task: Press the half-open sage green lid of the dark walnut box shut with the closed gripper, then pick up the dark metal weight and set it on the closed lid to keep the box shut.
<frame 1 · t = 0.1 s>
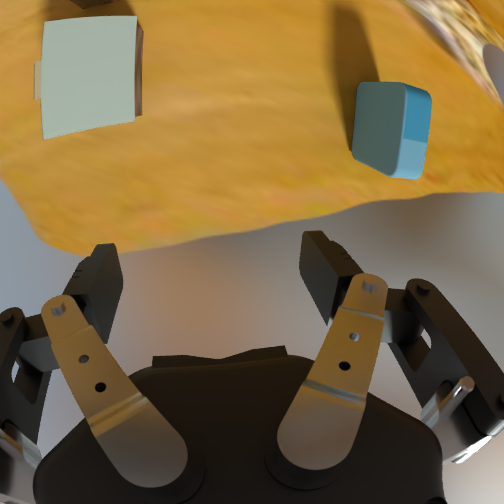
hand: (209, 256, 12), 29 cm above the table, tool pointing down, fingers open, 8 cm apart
data package: (365, 121, 39), on the table
box lid: (84, 72, 22), point 9 cm above the table, hinge at 35.0°
walnut box: (106, 77, 30), on the table
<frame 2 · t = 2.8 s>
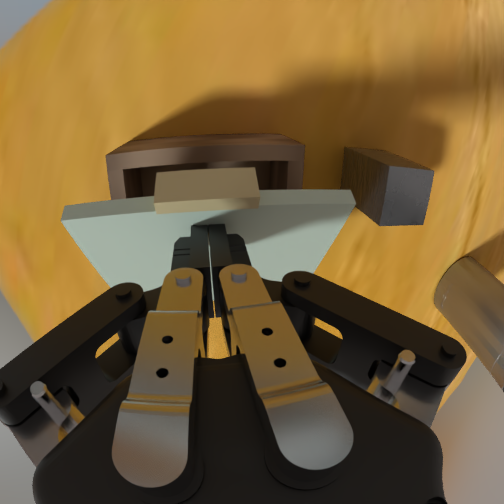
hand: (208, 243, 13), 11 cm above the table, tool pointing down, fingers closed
metal weight: (363, 171, 25), on the table
box lid: (209, 253, 16), point 9 cm above the table, hinge at 31.8°, touching gripper
walnut box: (206, 195, 24), on the table
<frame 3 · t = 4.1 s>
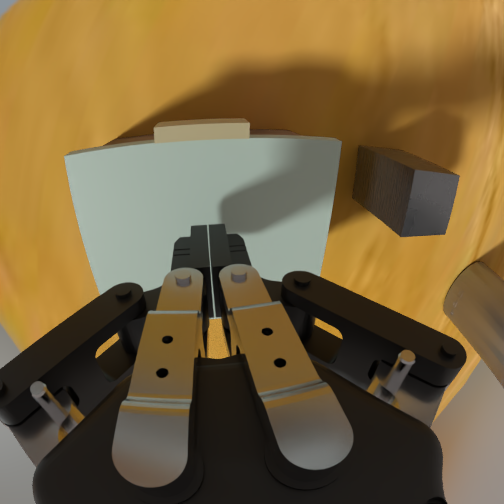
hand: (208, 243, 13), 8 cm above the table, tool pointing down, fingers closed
metal weight: (377, 173, 22), on the table
box lid: (205, 232, 15), point 7 cm above the table, hinge at 3.6°
walnut box: (203, 199, 21), on the table
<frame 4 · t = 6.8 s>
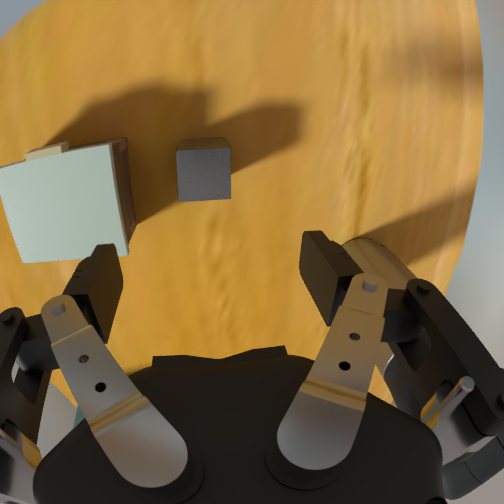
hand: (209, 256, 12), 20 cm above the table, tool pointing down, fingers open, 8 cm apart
metal weight: (203, 158, 29), on the table
box lid: (57, 205, 22), point 7 cm above the table, hinge at 3.6°
walnut box: (82, 189, 28), on the table
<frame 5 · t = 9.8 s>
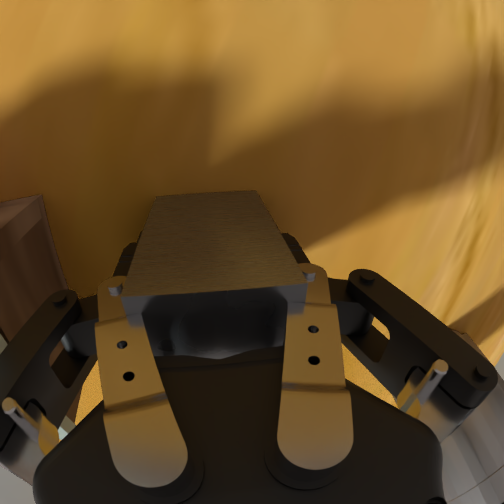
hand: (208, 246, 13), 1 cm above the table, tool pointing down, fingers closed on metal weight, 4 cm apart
metal weight: (208, 238, 14), on the table, touching gripper
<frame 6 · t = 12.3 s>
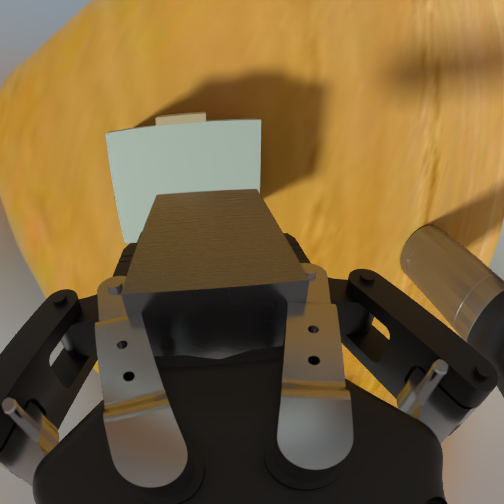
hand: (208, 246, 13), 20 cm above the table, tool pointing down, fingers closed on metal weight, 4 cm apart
metal weight: (208, 236, 14), point 19 cm above the table, touching gripper
box lid: (185, 178, 24), point 7 cm above the table, hinge at 3.6°
when the fingers open (9 cm above the table, at t = 14.9 s): metal weight drops 1 cm, resting on box lid.
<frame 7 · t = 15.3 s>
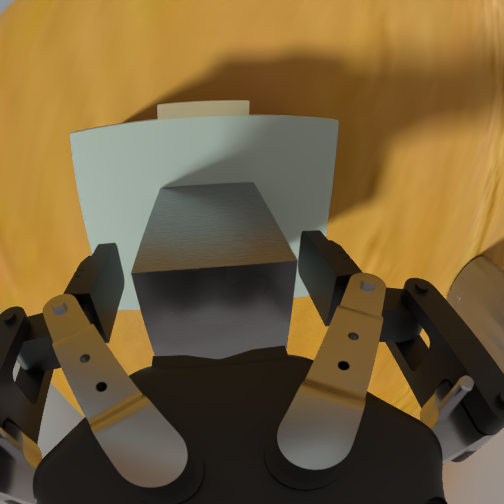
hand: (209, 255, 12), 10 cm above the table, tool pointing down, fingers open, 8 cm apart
metal weight: (209, 226, 15), point 7 cm above the table, touching box lid
box lid: (206, 212, 15), point 6 cm above the table, hinge at 1.0°, touching metal weight
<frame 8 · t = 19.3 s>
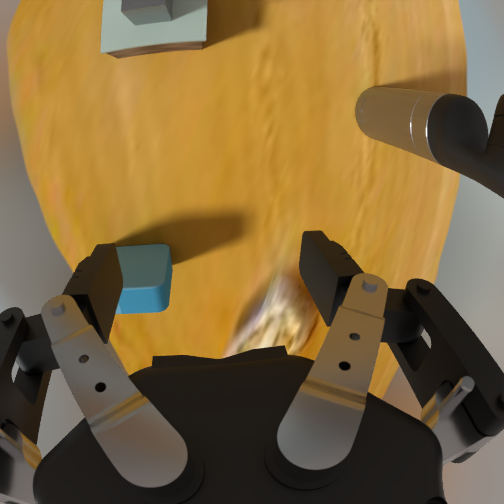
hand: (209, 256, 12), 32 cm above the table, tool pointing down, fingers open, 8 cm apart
data package: (137, 256, 47), on the table
metal weight: (154, 7, 23), point 7 cm above the table, touching box lid
box lid: (154, 6, 24), point 6 cm above the table, hinge at 0.8°, touching metal weight
walnut box: (160, 21, 29), on the table
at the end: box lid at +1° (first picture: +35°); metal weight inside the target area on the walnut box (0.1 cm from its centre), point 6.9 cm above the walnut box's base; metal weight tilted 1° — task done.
